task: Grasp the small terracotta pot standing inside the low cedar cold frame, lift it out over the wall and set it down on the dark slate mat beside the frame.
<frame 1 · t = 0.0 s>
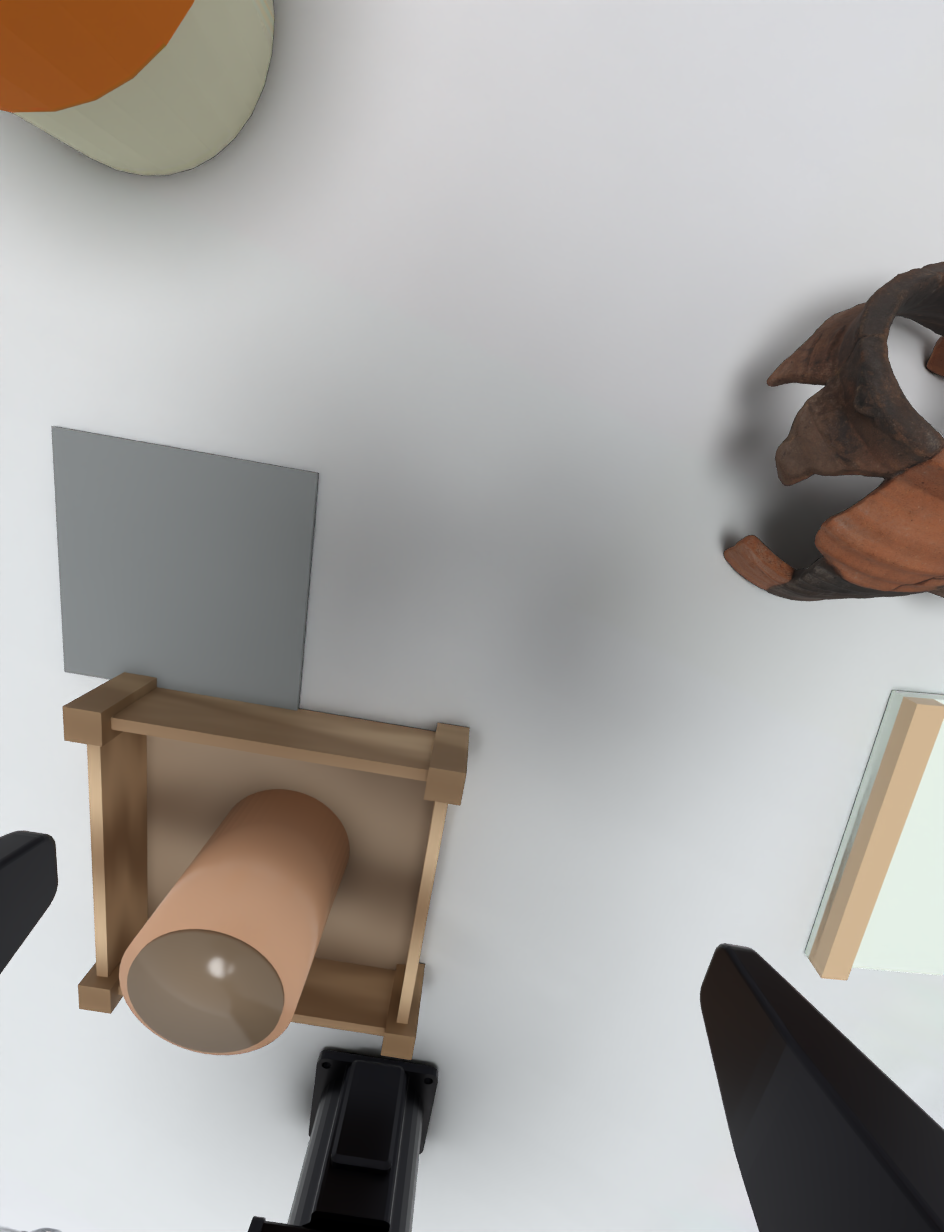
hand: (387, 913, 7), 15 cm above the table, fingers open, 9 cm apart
terracotta pot: (285, 844, 24), resting on cold frame
slate mat: (185, 577, 21), on the table
brown piece: (848, 486, 20), on the table
reusable coffee cup: (135, 9, 16), on the table
cold frame: (287, 841, 24), on the table
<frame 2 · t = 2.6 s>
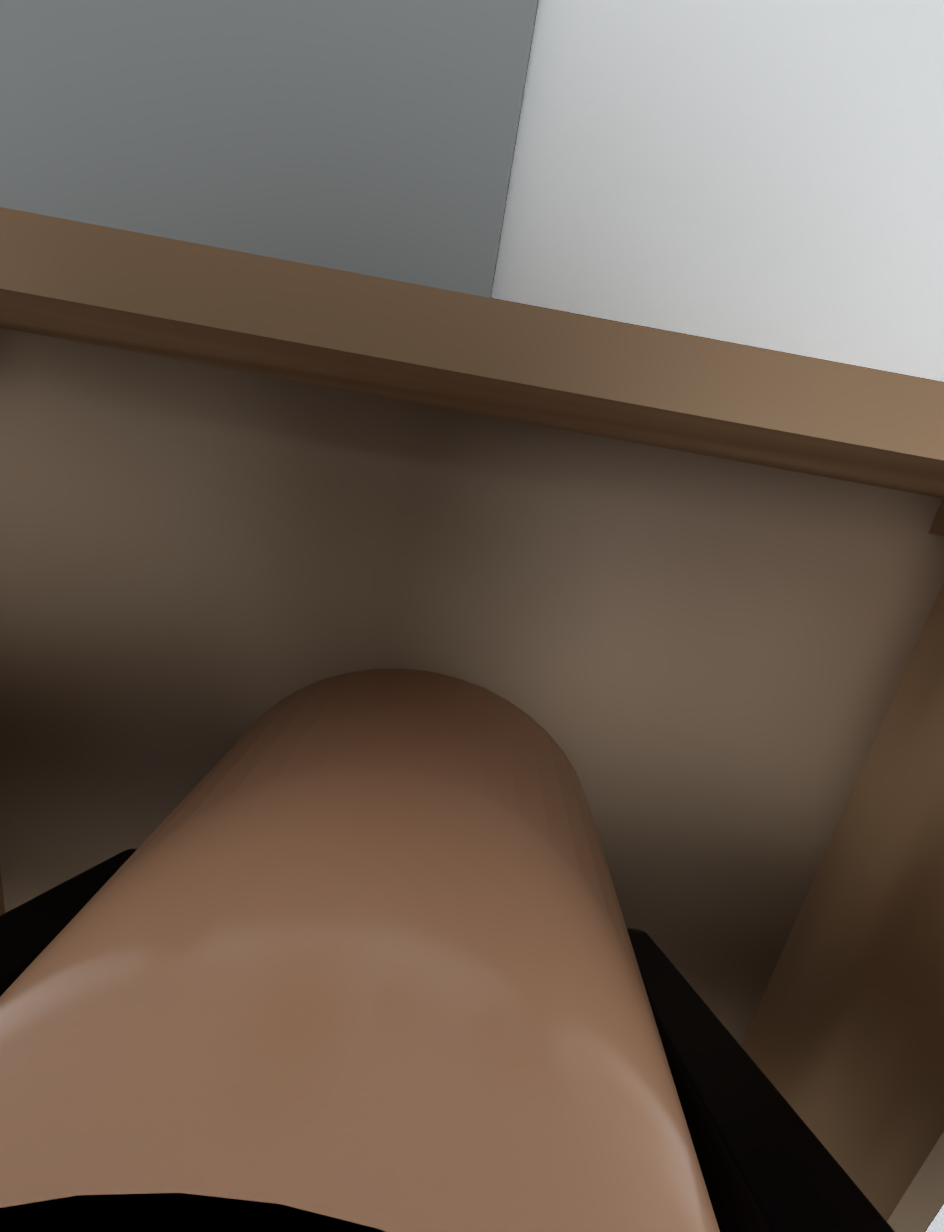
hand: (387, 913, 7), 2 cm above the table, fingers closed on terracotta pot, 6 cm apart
terracotta pot: (402, 845, 8), resting on cold frame, touching gripper
cold frame: (404, 836, 8), on the table
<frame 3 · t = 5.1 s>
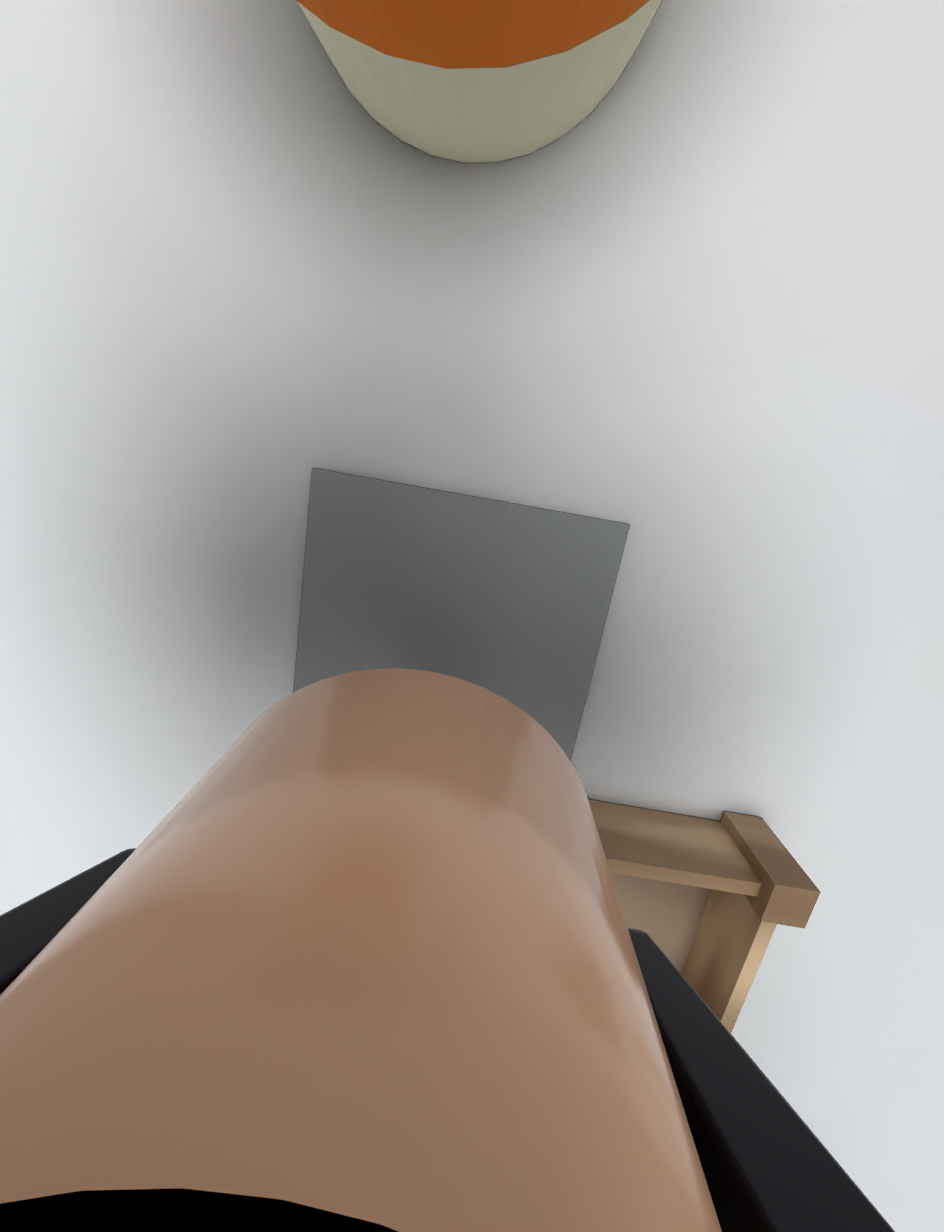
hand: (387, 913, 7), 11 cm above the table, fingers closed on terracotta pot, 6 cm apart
terracotta pot: (401, 846, 8), point 10 cm above the table, touching gripper
slate mat: (447, 644, 18), on the table
cold frame: (522, 942, 21), on the table
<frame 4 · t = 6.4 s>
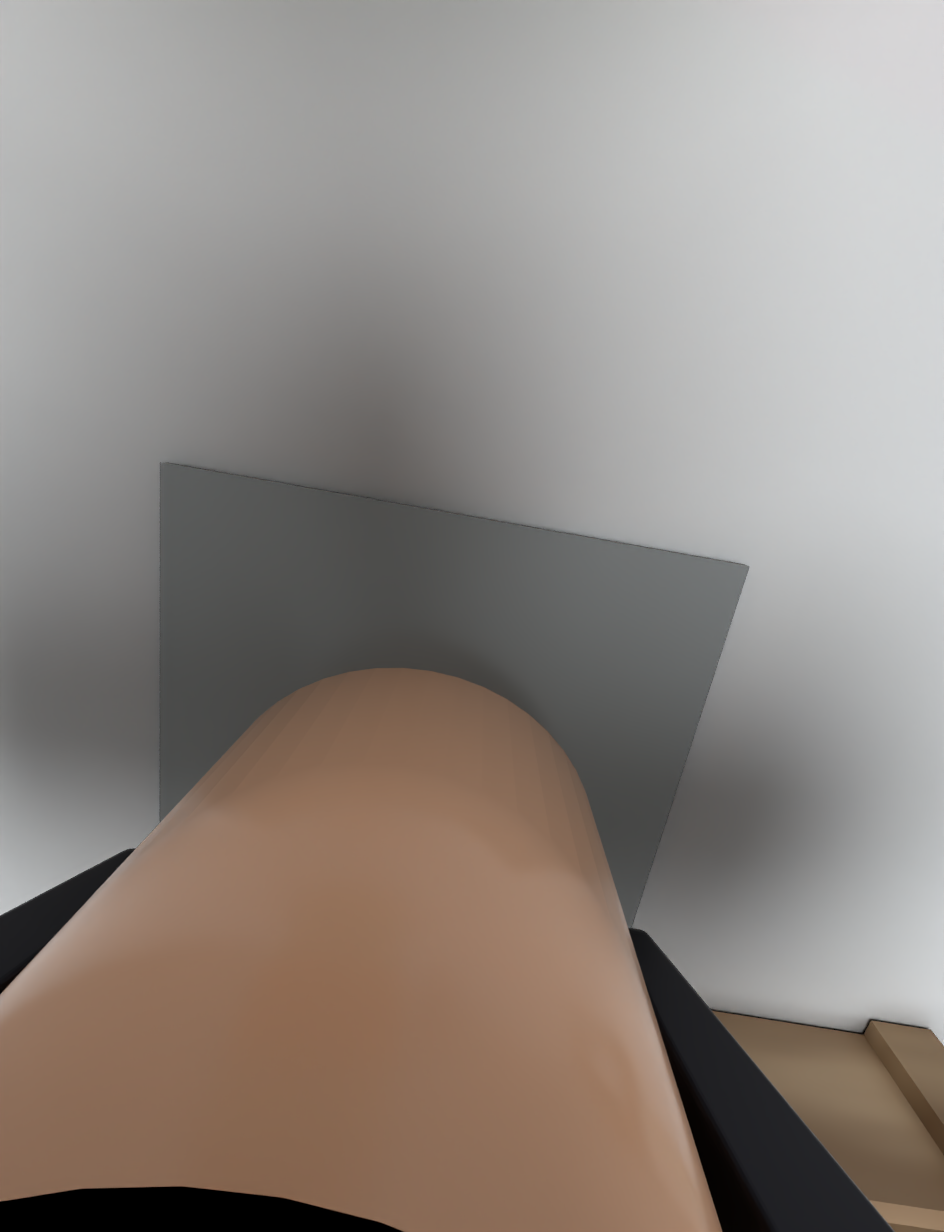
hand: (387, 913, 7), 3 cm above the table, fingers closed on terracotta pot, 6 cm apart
terracotta pot: (401, 845, 8), point 2 cm above the table, touching gripper
slate mat: (418, 767, 10), on the table
cold frame: (541, 1190, 14), on the table
when the fingers open (3 cm above the table, at t = 7.4 s): terracotta pot drops 2 cm, resting on slate mat.
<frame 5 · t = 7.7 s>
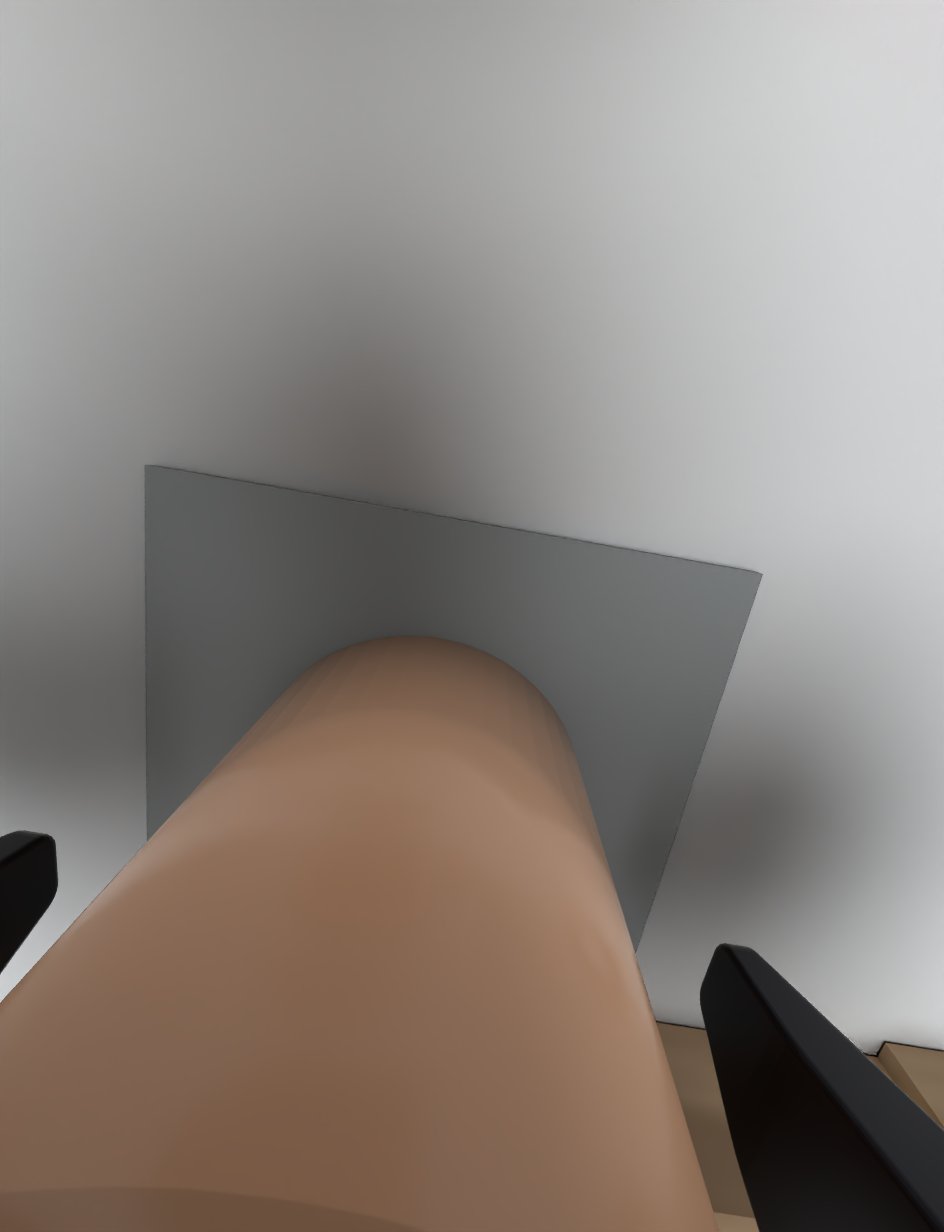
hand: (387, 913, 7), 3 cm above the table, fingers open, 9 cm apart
terracotta pot: (416, 788, 10), resting on slate mat
slate mat: (415, 781, 10), on the table
cold frame: (543, 1215, 13), on the table
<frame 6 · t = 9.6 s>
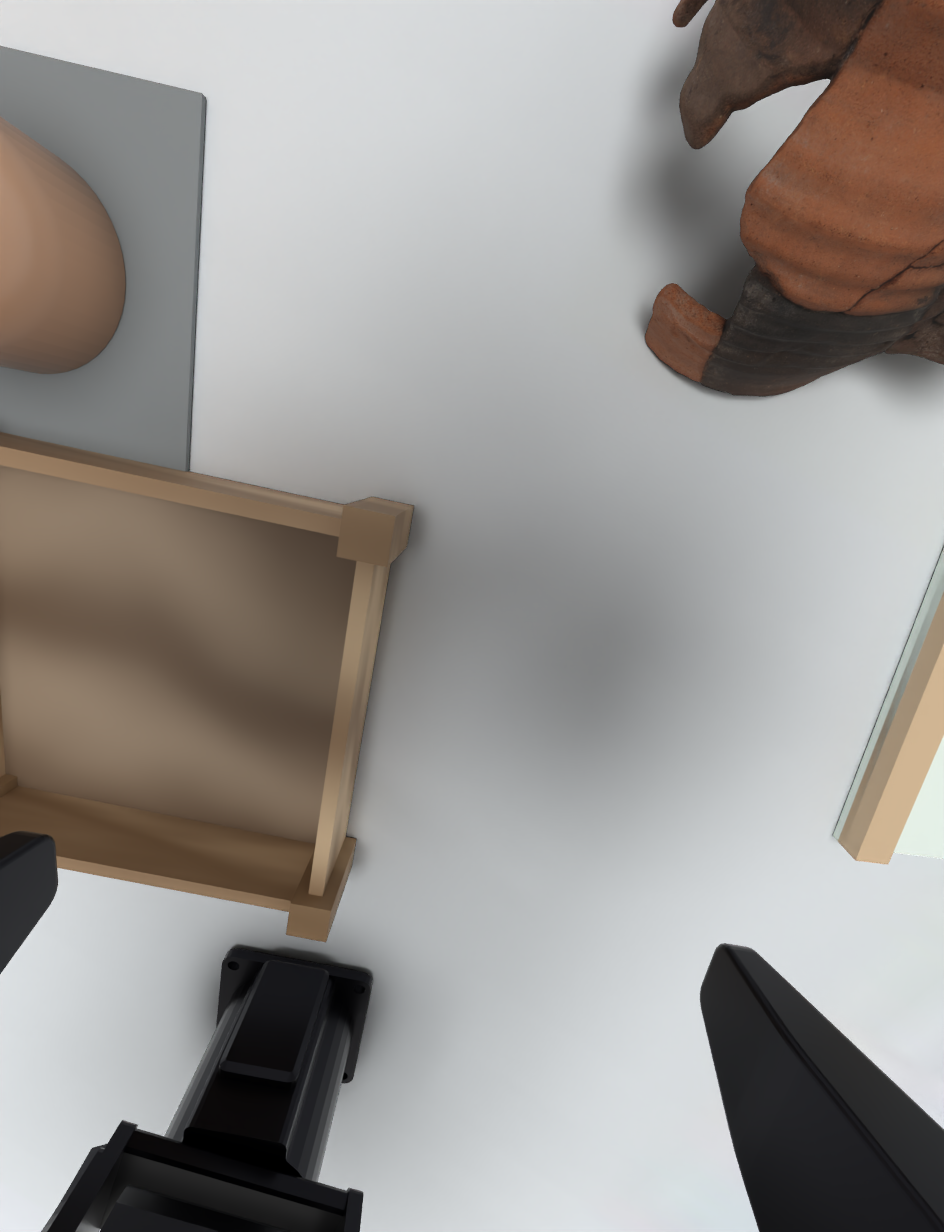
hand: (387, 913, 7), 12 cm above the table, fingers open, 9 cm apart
terracotta pot: (24, 262, 15), resting on slate mat
slate mat: (29, 264, 15), on the table
brown piece: (805, 236, 15), on the table
cold frame: (179, 665, 19), on the table
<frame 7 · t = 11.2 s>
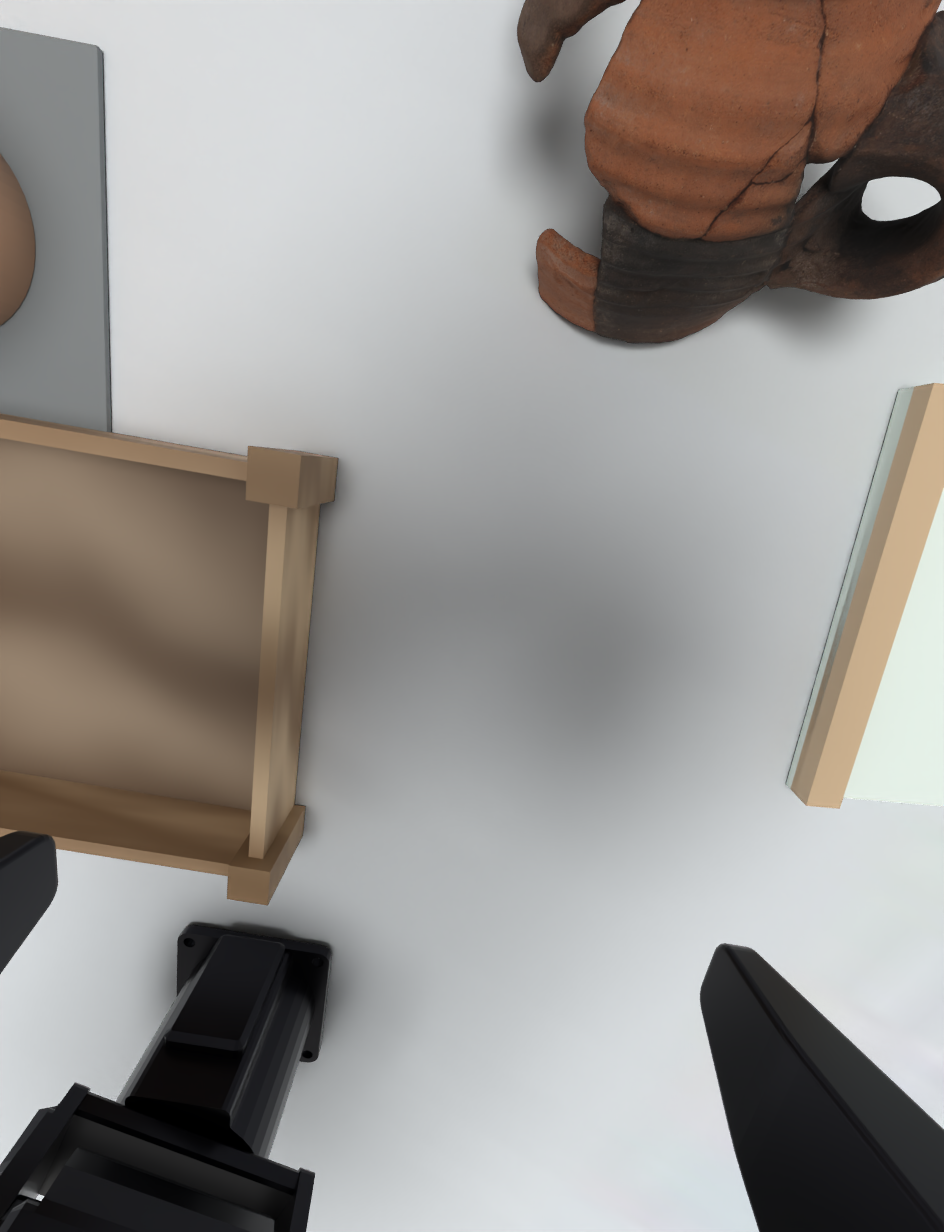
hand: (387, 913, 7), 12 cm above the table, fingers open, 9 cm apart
brown piece: (690, 181, 15), on the table
cold frame: (115, 633, 19), on the table
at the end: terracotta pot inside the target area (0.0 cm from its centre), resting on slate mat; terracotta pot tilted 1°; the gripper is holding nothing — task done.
